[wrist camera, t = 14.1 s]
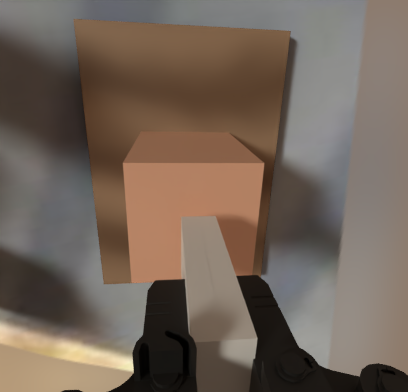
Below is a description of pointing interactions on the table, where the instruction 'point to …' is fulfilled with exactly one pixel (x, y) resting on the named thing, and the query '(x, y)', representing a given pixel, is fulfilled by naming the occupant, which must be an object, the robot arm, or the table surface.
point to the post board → (174, 106)
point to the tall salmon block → (189, 198)
